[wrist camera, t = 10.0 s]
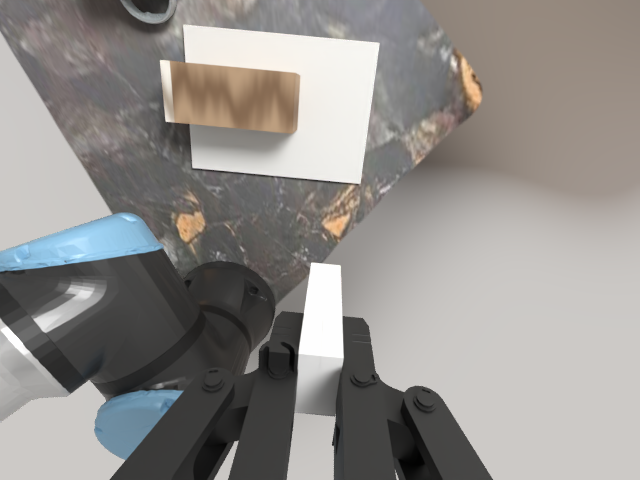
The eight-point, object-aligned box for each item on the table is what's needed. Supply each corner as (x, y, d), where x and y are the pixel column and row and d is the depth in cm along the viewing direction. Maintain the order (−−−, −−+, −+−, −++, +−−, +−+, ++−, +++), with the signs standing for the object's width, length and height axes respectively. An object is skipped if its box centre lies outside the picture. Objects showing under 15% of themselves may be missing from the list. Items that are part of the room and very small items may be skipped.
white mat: (360, 183, 44) (360, 183, 43) (193, 167, 44) (192, 167, 44) (379, 43, 37) (379, 42, 37) (184, 25, 38) (183, 24, 37)
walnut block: (292, 133, 36) (165, 121, 37) (297, 129, 41) (184, 118, 41) (295, 72, 34) (159, 59, 34) (300, 75, 39) (180, 64, 39)
